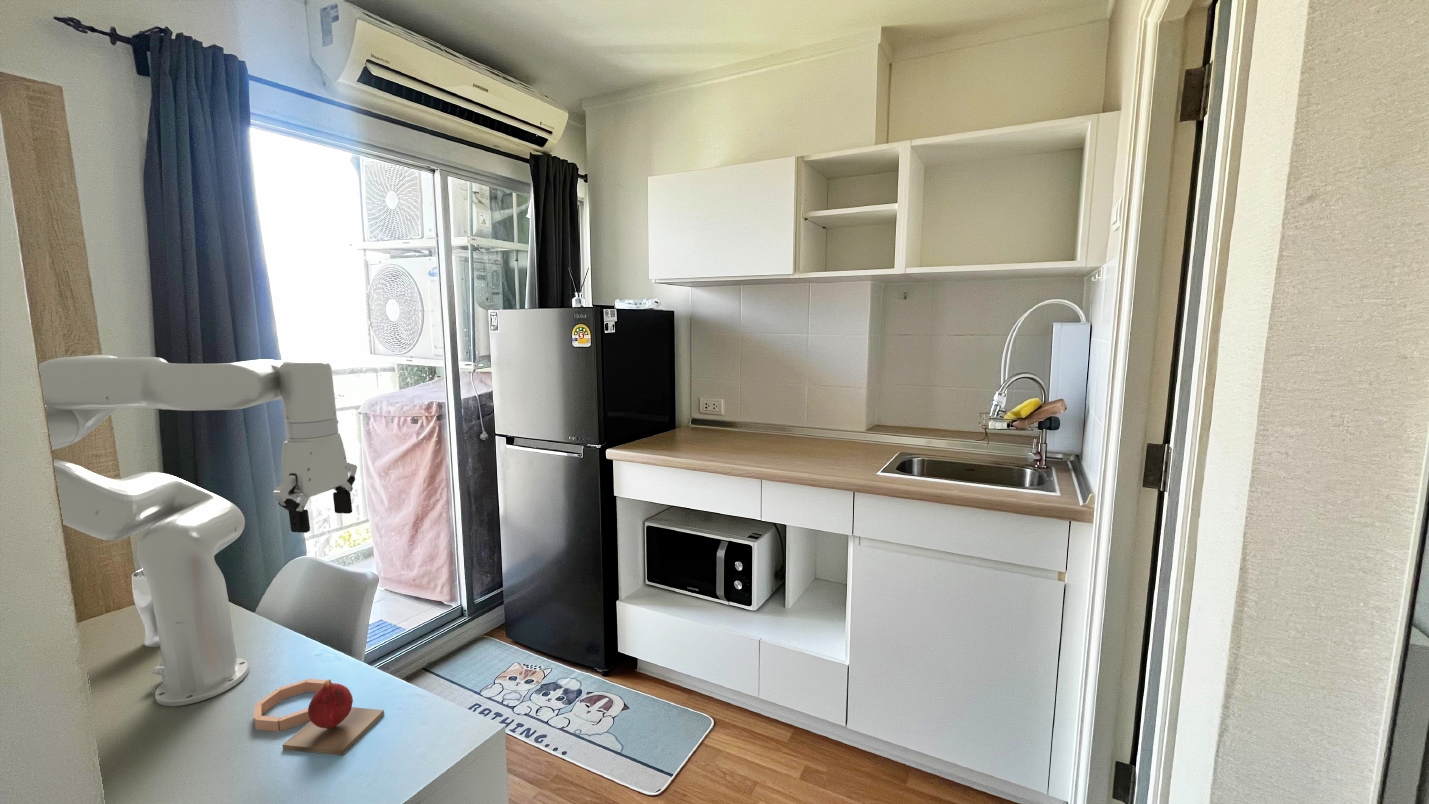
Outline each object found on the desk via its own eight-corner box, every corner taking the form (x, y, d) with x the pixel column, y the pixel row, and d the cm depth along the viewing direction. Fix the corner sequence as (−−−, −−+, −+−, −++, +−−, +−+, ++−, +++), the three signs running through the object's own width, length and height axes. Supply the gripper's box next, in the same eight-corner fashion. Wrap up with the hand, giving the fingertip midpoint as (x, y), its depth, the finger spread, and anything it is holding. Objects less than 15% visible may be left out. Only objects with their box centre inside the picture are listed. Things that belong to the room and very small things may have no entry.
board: (282, 749, 87) (282, 744, 87) (329, 709, 96) (329, 705, 96) (342, 755, 86) (341, 750, 85) (384, 714, 94) (383, 709, 94)
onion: (363, 720, 92) (358, 675, 91) (325, 745, 87) (320, 696, 85) (340, 710, 94) (335, 666, 93) (302, 733, 89) (296, 686, 88)
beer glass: (183, 626, 122) (173, 560, 120) (192, 636, 118) (181, 568, 116) (138, 641, 117) (126, 572, 115) (145, 652, 113) (134, 581, 110)
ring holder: (238, 727, 92) (237, 717, 91) (293, 686, 102) (292, 677, 101) (296, 733, 90) (295, 723, 90) (346, 691, 100) (345, 681, 100)
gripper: (331, 420, 110) (341, 505, 113) (248, 439, 93) (261, 539, 96) (367, 421, 109) (375, 507, 112) (289, 440, 92) (301, 541, 95)
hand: (323, 521), depth 104 cm, fingers open, 9 cm apart
